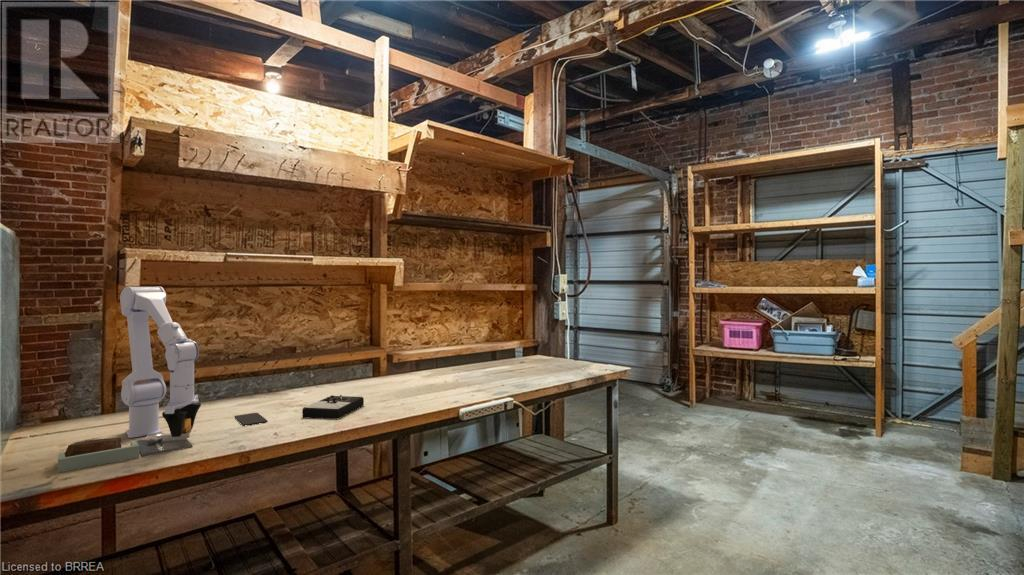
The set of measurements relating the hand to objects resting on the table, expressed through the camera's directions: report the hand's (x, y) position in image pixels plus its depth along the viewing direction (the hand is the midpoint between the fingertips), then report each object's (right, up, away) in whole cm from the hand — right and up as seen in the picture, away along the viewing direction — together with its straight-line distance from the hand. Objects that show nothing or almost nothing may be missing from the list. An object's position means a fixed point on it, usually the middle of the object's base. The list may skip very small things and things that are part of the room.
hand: (182, 433), depth 141 cm
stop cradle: (-11, -3, -15) cm, 19 cm away
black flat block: (+30, -3, +35) cm, 47 cm away
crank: (-4, -2, 0) cm, 4 cm away
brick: (-14, -3, -13) cm, 19 cm away
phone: (+7, -3, +24) cm, 25 cm away
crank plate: (-4, -3, -2) cm, 5 cm away
